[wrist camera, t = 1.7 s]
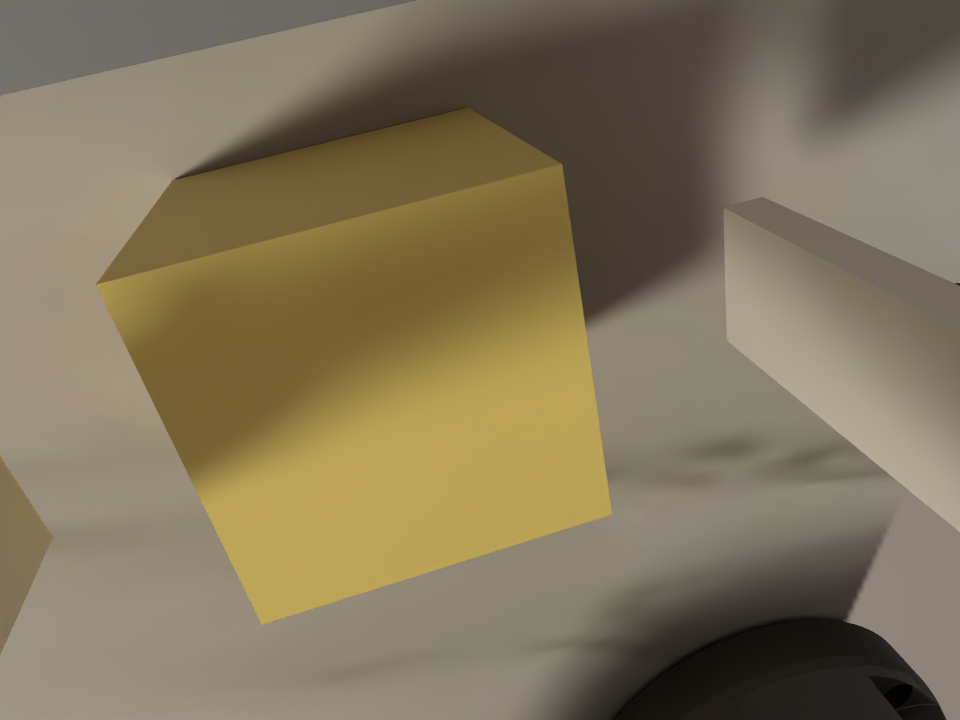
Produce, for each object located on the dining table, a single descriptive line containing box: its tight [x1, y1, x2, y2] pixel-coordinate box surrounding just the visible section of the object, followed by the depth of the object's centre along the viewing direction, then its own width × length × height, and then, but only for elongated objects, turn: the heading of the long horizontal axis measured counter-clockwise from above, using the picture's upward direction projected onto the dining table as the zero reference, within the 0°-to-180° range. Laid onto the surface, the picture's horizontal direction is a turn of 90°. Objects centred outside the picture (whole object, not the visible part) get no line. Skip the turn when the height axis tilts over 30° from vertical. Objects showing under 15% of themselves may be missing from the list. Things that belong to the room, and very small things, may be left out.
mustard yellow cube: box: [96, 108, 612, 624], centre depth 15 cm, size 7×7×7 cm
